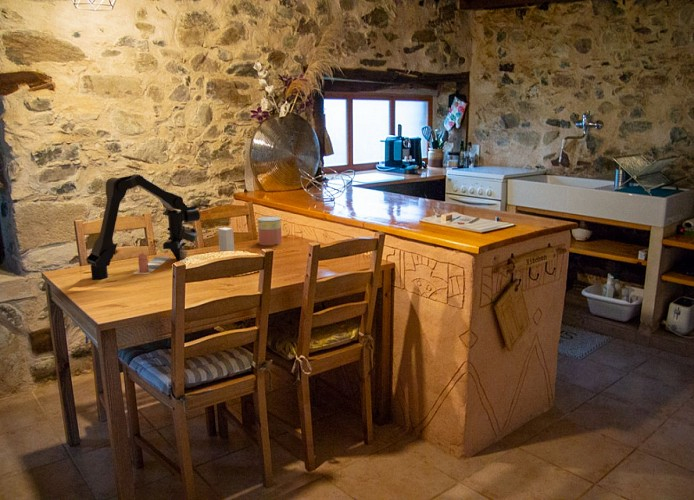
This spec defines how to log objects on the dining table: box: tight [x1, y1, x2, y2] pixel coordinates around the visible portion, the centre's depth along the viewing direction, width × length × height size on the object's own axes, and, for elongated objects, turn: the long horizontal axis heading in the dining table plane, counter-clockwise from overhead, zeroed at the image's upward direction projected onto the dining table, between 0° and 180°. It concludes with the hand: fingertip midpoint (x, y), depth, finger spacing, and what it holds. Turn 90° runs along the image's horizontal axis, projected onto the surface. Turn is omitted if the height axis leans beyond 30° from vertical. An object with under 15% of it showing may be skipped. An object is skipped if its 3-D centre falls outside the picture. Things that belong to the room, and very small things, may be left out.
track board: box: [132, 256, 173, 275], centre depth 238 cm, size 27×8×1 cm, turn 179°
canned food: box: [257, 216, 283, 246], centre depth 280 cm, size 11×11×12 cm
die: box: [180, 250, 189, 260], centre depth 249 cm, size 4×4×4 cm
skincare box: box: [217, 227, 235, 253], centre depth 257 cm, size 6×4×12 cm
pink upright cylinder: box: [137, 252, 149, 273], centre depth 227 cm, size 3×3×7 cm
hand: (178, 260), depth 244 cm, fingers closed
